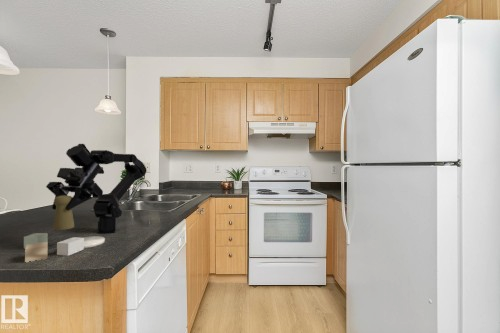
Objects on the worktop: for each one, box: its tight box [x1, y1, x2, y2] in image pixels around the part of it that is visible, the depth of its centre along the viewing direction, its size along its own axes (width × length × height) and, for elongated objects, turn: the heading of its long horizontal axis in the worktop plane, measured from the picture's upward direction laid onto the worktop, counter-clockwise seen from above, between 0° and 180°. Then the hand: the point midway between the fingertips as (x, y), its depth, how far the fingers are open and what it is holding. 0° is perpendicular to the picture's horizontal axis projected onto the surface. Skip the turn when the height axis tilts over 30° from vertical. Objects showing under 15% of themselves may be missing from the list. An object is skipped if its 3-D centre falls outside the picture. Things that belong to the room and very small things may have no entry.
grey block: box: [56, 236, 85, 256], centre depth 79 cm, size 6×4×4 cm, turn 172°
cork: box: [52, 195, 76, 231], centre depth 83 cm, size 6×6×11 cm
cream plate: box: [82, 235, 106, 249], centre depth 88 cm, size 11×11×1 cm
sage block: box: [23, 232, 48, 249], centre depth 85 cm, size 4×4×4 cm
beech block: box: [24, 241, 49, 263], centre depth 74 cm, size 5×5×4 cm
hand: (60, 209), depth 82 cm, fingers closed on cork, 5 cm apart
